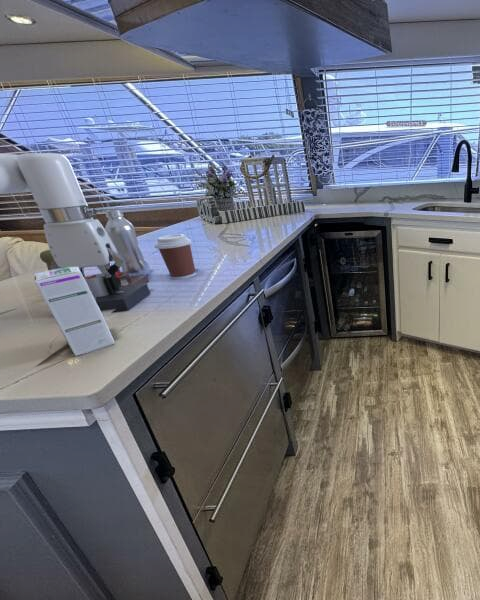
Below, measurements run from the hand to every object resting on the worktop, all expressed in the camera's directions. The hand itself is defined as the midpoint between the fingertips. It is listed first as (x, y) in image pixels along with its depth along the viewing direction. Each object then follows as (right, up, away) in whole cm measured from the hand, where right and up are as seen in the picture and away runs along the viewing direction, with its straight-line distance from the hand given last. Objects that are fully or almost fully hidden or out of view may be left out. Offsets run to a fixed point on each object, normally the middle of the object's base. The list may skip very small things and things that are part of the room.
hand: (102, 292), depth 76 cm
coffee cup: (+5, +6, +21) cm, 23 cm away
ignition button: (-7, +5, +11) cm, 14 cm away
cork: (-24, +2, +16) cm, 29 cm away
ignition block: (-7, +1, +12) cm, 14 cm away
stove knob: (0, 0, 0) cm, 0 cm away
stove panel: (0, -3, +1) cm, 3 cm away
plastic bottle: (-9, +5, +22) cm, 25 cm away
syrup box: (+14, -10, -17) cm, 24 cm away
